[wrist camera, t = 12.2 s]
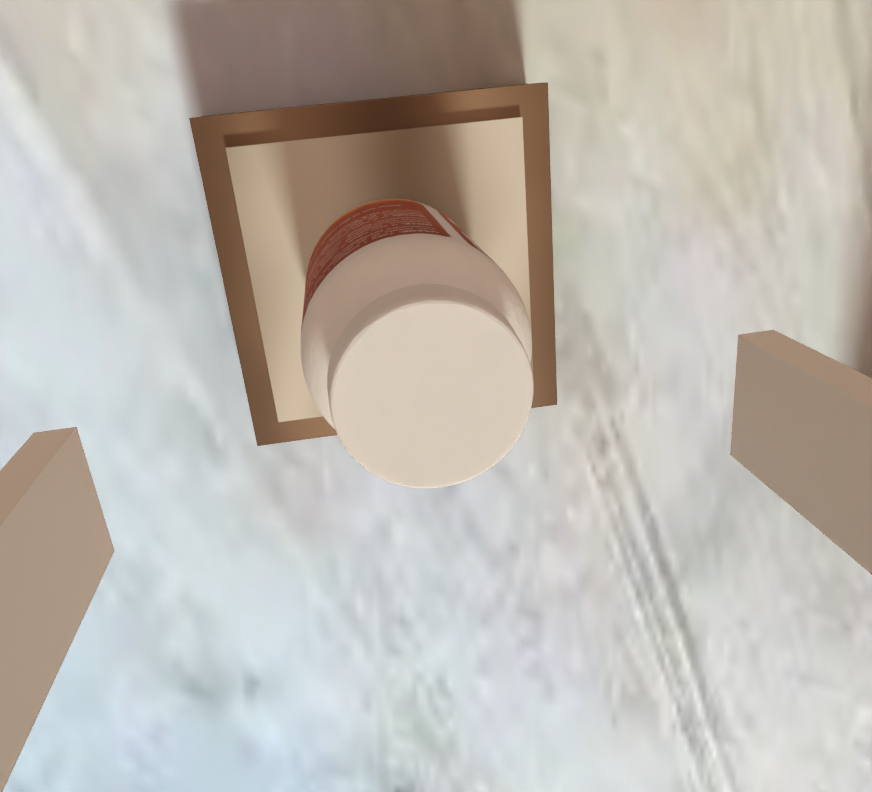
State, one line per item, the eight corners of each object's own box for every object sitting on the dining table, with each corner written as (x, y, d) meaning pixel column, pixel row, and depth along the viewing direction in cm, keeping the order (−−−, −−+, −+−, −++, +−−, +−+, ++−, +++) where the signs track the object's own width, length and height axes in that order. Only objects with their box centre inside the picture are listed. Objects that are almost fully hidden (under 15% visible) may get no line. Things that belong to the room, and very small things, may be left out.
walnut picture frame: (264, 415, 31) (256, 449, 28) (204, 116, 27) (187, 118, 24) (537, 378, 32) (559, 407, 29) (526, 84, 28) (550, 82, 25)
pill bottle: (283, 333, 27) (254, 479, 17) (339, 168, 25) (344, 218, 15) (440, 384, 28) (502, 545, 18) (503, 232, 26) (612, 318, 16)
